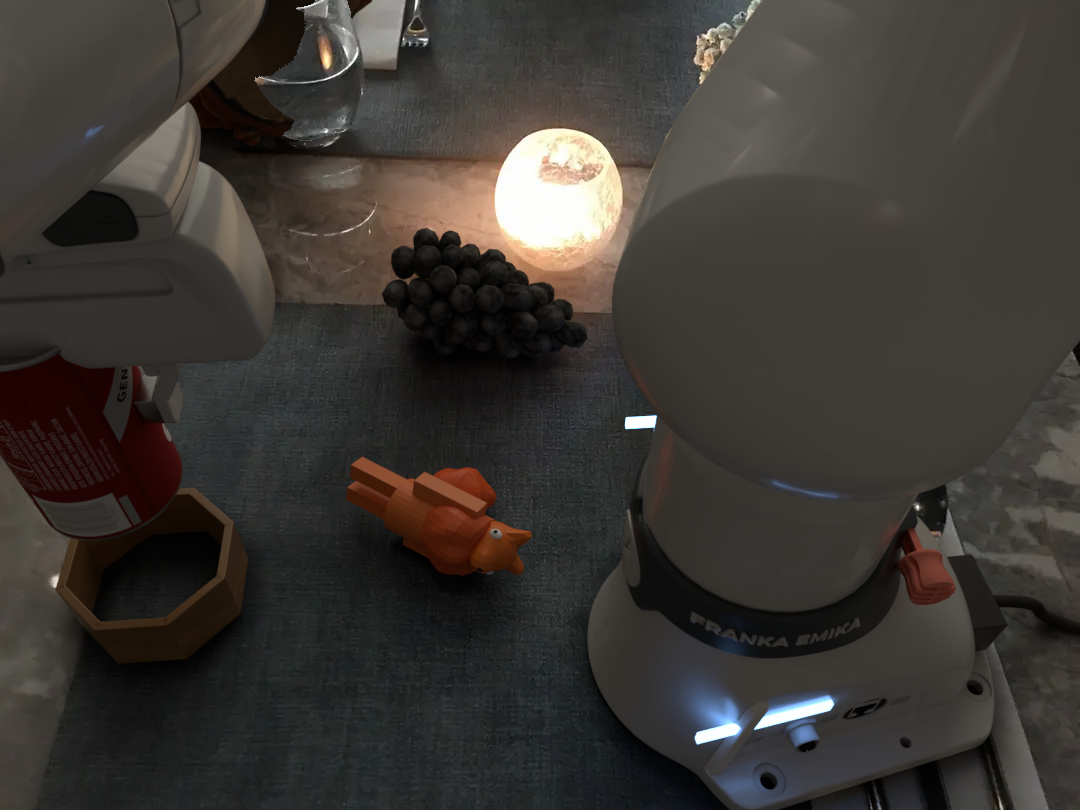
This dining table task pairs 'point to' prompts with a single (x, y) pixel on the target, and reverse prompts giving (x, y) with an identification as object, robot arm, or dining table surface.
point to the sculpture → (257, 75)
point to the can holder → (187, 621)
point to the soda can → (84, 446)
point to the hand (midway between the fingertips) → (76, 418)
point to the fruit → (476, 300)
